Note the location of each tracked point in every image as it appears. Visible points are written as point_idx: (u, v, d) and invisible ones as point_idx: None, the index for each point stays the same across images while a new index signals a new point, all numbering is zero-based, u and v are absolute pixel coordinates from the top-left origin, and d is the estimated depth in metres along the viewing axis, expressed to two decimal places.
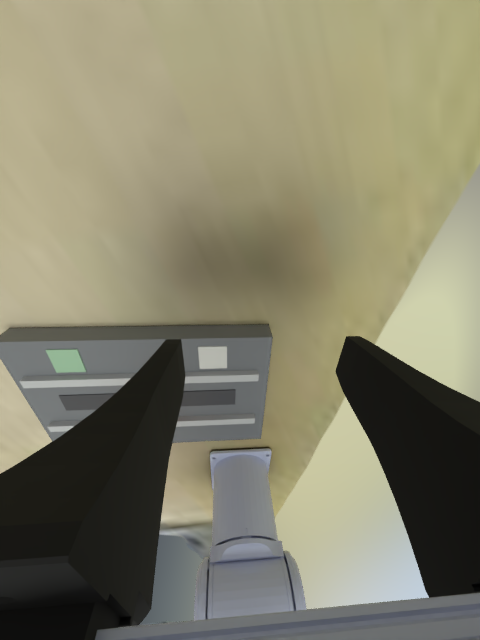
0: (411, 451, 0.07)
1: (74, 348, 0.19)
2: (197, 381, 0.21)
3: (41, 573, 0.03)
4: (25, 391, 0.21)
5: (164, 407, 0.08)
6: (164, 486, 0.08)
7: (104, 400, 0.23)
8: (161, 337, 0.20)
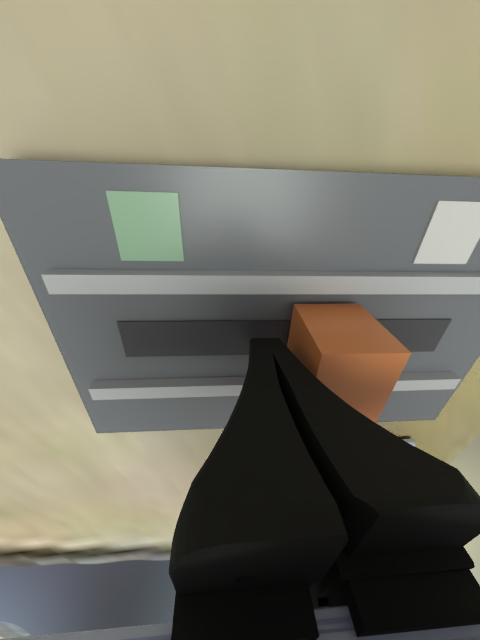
0: None
1: (172, 192, 0.08)
2: (406, 290, 0.10)
3: (311, 552, 0.03)
4: (50, 309, 0.10)
5: None
6: None
7: (203, 335, 0.11)
8: None
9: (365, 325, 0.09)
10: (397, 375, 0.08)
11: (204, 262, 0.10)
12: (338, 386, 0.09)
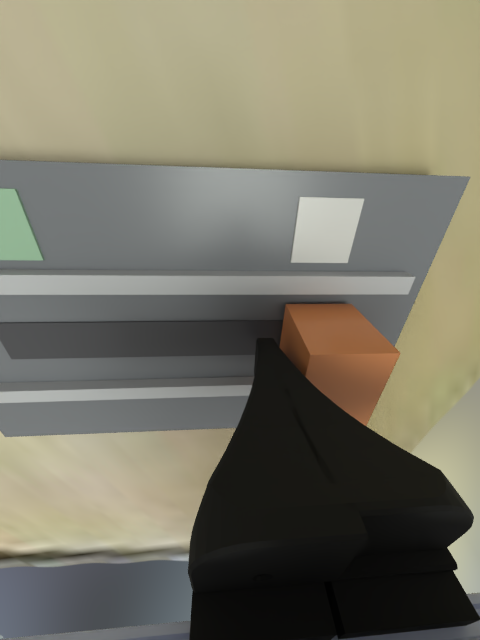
0: None
1: (10, 187, 0.08)
2: (285, 290, 0.10)
3: (330, 550, 0.03)
4: None
5: None
6: None
7: (87, 337, 0.11)
8: None
9: (356, 325, 0.09)
10: (387, 375, 0.08)
11: (67, 261, 0.09)
12: (328, 386, 0.08)
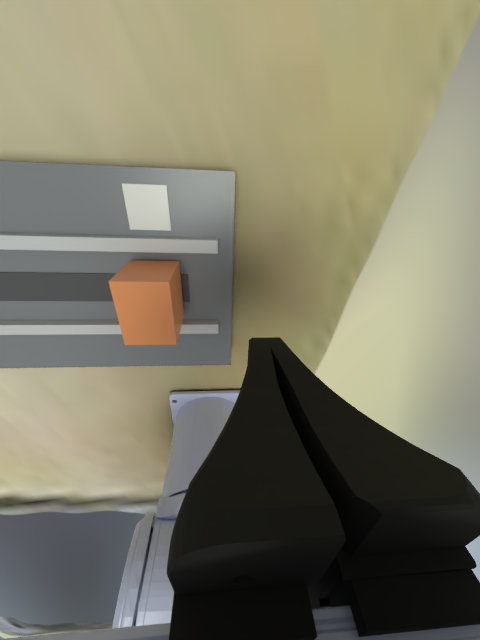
0: None
1: None
2: (126, 248, 0.15)
3: (308, 552, 0.03)
4: None
5: None
6: None
7: None
8: None
9: (162, 270, 0.14)
10: (169, 299, 0.13)
11: None
12: (132, 306, 0.13)
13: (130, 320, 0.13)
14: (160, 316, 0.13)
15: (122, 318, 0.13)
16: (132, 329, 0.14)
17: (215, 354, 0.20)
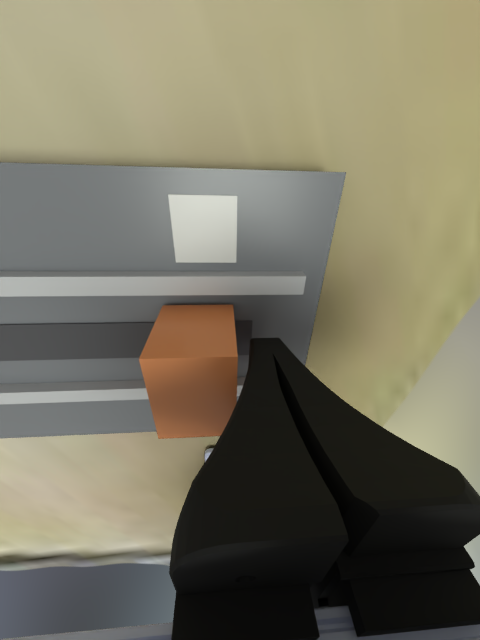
0: None
1: None
2: (171, 291, 0.10)
3: (311, 552, 0.03)
4: None
5: None
6: None
7: None
8: None
9: (216, 327, 0.09)
10: (234, 379, 0.08)
11: None
12: (174, 391, 0.08)
13: (170, 408, 0.09)
14: (217, 402, 0.09)
15: (158, 406, 0.08)
16: (171, 419, 0.09)
17: None
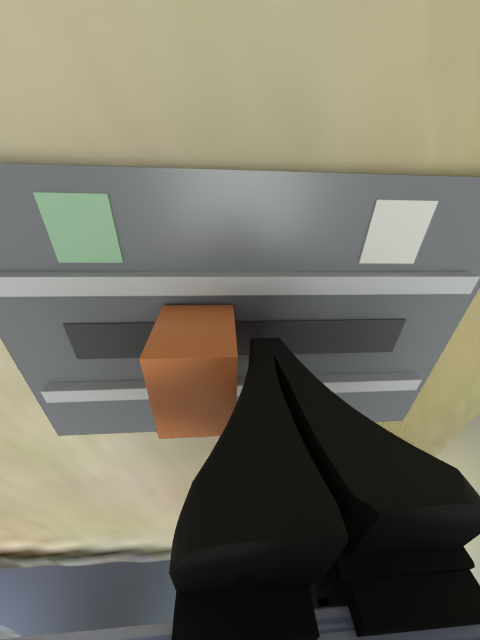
0: None
1: (101, 192, 0.08)
2: (353, 290, 0.10)
3: (311, 551, 0.03)
4: None
5: None
6: None
7: None
8: (298, 172, 0.09)
9: (216, 327, 0.09)
10: (234, 380, 0.08)
11: (144, 263, 0.10)
12: (174, 391, 0.08)
13: (170, 408, 0.09)
14: (217, 402, 0.09)
15: (158, 406, 0.08)
16: (172, 419, 0.09)
17: (390, 410, 0.16)
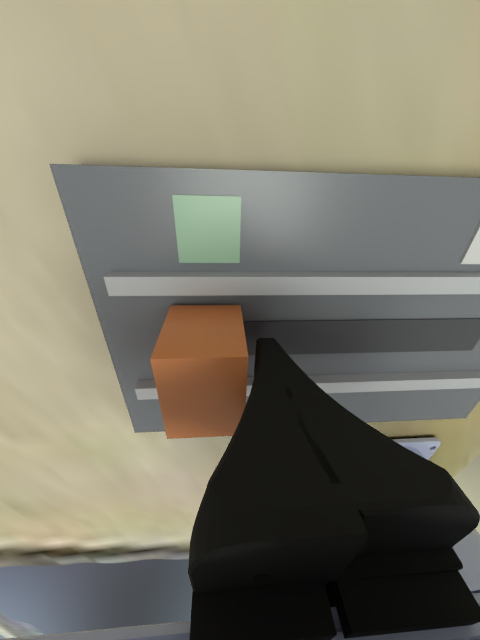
0: None
1: (235, 195, 0.09)
2: (454, 290, 0.11)
3: (330, 550, 0.03)
4: (104, 311, 0.11)
5: None
6: None
7: (249, 335, 0.12)
8: None
9: (225, 327, 0.09)
10: (244, 379, 0.08)
11: (258, 264, 0.10)
12: (184, 391, 0.08)
13: (179, 408, 0.09)
14: (226, 402, 0.09)
15: (168, 405, 0.08)
16: (180, 419, 0.09)
17: (456, 407, 0.16)
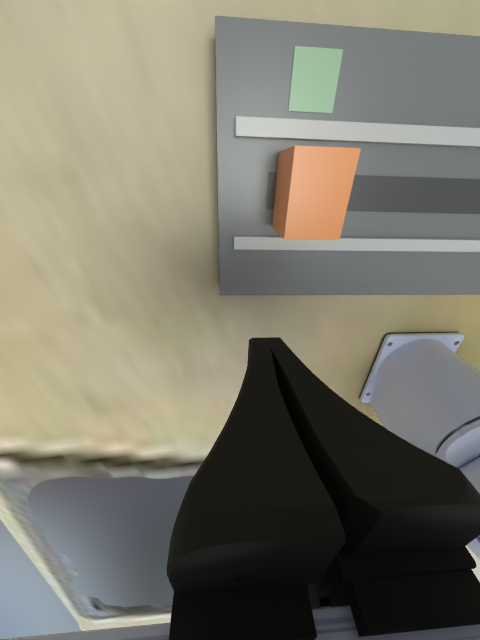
0: None
1: (338, 49, 0.12)
2: None
3: (308, 552, 0.03)
4: (223, 158, 0.14)
5: None
6: None
7: None
8: (471, 39, 0.12)
9: None
10: (353, 174, 0.11)
11: (345, 116, 0.13)
12: (309, 184, 0.11)
13: (301, 203, 0.12)
14: (335, 198, 0.12)
15: (294, 199, 0.12)
16: (299, 217, 0.12)
17: None
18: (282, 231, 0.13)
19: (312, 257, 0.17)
